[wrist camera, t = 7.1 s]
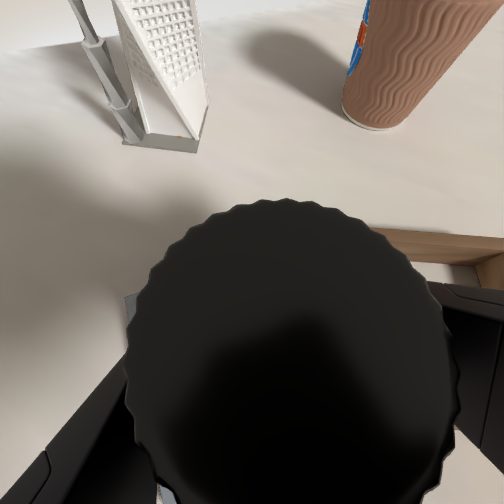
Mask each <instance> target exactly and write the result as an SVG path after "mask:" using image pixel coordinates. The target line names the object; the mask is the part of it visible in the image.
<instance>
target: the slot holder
mask: <svg viewBox="0 0 504 504" xmlns="http://www.w3.org/2000/svg"><path fill="white" fill-rule="evenodd" d="M370 229H371V230H374V231H376V232H379V233H381V234H383V235H385V236H386V238H387V239H388V240H389V241H390V243H391V244H392V246H393V247H395V248H396V249H398V250H400V251H401V252H403V253H404V254H406V255H407V257H408V259H409V261H414V262H427V263H441V264H454V265H468V266H474V267H475V270H476V273H477V276H478V278H479V281H480V284H481V287H482V288H492V289H502V290H504V238H496V237H483V236H470V235H457V234H444V233H432V232H419V231H406V230H393V229H380V228H370ZM454 430H459V429H458V428H457V427H456V426H455V425H454Z"/></svg>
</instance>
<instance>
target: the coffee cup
mask: <svg viewBox="0 0 504 504" xmlns="http://www.w3.org/2000/svg"><path fill="white" fill-rule="evenodd" d="M503 4H504V0H367V3H366V7H365V11H364V14H363V20H362V22H361V25H360V29H359V32H358V36H357V41H356V44H355V47H354V51H353V54H352V58H351V62H350V67H349V69H348V73H347V79H346V82H345V86H344V90H343V98H342V109H343V111H344V113H345V115H346V116H347V117H348V118H349V119H350V120H351V121H352V122H353V123H355V124H357V125H358V126H360V127H363V128H366V129H369V130H374V131H385V130H390V129H393V128H395V127H397V126H398V125H399V124H400V123H401V122H402V121H403V120H404V119H405V118H407V117H408V115H409V114H410V113H411V112H412V111H413V109H414V108H415V107H416V106H417V105H418V103H419V102H420V101H421V100H422V99H423V98H424V96H425V95H426V94H427V93H428V92H429V90H430V89H431V88H432V87H433V86H434V85H435V84H436V82H437V81H438V80H439V79H440V78H441V77H442V75H443V74H444V73H445V72H446V71H447V70H448V68H449V67H450V66H451V65H452V64H453V62H454V61H455V60H456V59H457V58H458V56H459V55H460V54H461V53H462V52H463V51H464V49H465V48H466V47H467V46H468V45H469V44H470V42H471V41H472V40H473V39H474V38H475V37H476V35H477V34H478V33H479V32H480V31H481V30H482V28H483V27H484V26H485V25H486V24H487V22H488V21H489V20H490V19H491V18H492V16H493V15H494V14H495V13H496V12H497V11H498V10H499V8H500V7H501V6H502V5H503Z"/></svg>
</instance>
